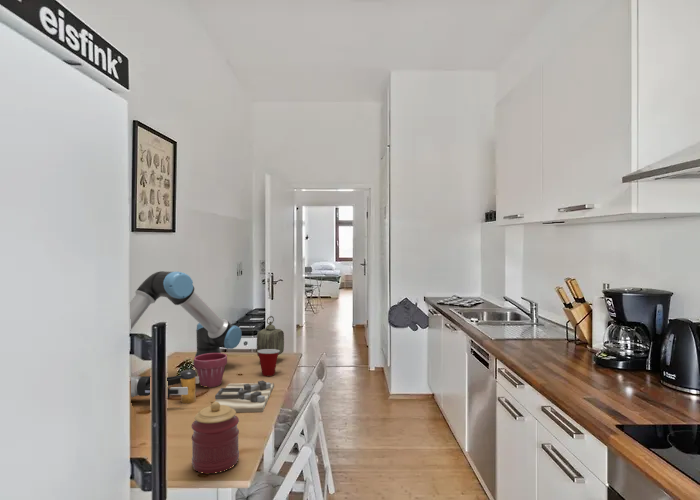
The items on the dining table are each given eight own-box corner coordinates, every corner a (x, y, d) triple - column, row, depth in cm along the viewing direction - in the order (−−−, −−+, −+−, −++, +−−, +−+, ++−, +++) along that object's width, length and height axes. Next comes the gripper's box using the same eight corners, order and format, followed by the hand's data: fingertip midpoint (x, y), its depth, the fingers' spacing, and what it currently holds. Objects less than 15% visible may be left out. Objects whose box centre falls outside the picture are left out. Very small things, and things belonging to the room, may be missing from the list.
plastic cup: (284, 372, 211) (284, 348, 211) (271, 379, 201) (271, 353, 201) (266, 370, 215) (266, 346, 215) (252, 376, 206) (252, 351, 205)
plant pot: (191, 390, 185) (191, 361, 185) (196, 381, 199) (196, 353, 199) (226, 388, 188) (225, 359, 188) (228, 378, 202) (228, 351, 202)
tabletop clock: (270, 358, 238) (270, 314, 238) (285, 359, 235) (284, 314, 235) (256, 365, 225) (256, 318, 225) (271, 366, 222) (271, 318, 222)
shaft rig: (227, 387, 190) (227, 376, 190) (273, 386, 190) (273, 376, 190) (207, 413, 160) (207, 401, 160) (262, 411, 160) (262, 400, 160)
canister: (213, 480, 113) (212, 414, 113) (181, 467, 120) (181, 405, 120) (248, 459, 124) (248, 399, 124) (218, 448, 131) (217, 391, 131)
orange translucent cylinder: (183, 398, 175) (183, 369, 175) (197, 398, 175) (197, 369, 175) (178, 404, 169) (178, 373, 169) (193, 403, 169) (193, 373, 169)
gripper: (153, 385, 184) (203, 384, 184) (124, 407, 159) (182, 405, 160) (153, 368, 184) (202, 367, 184) (124, 386, 159) (182, 385, 160)
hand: (193, 385), depth 172 cm, fingers open, 13 cm apart
